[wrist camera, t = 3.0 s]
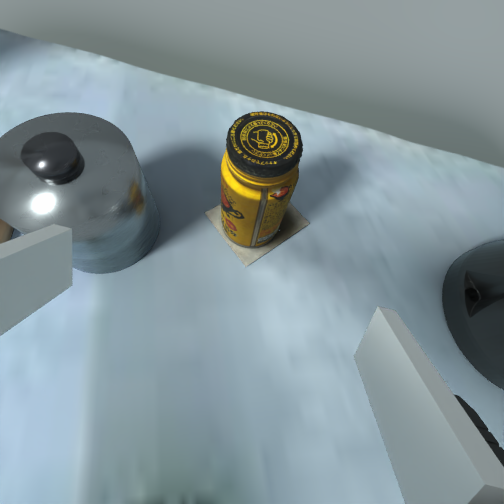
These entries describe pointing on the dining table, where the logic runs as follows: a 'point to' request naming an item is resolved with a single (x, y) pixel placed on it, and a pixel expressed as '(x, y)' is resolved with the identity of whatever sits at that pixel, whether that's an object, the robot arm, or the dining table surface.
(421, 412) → the robot arm
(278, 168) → the condiment
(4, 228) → the tan plate
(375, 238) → the dining table surface
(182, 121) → the dining table surface
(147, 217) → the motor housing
